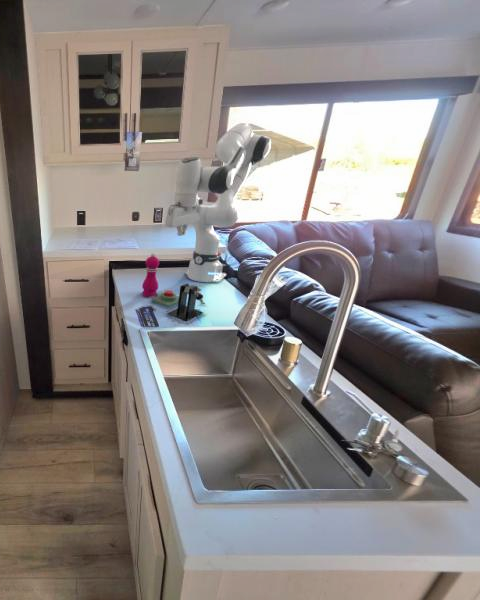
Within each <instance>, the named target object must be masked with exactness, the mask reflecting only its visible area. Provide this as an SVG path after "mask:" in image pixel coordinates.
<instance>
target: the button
mask: <svg viewBox="0 0 480 600" xmlns="http://www.w3.org/2000/svg"><path fill="white" fill-rule="evenodd" d="M164 292H165V294H164V295H165V296H168V297H172V296H173V293H174V291H173V290H169V289H168V290H164Z"/></svg>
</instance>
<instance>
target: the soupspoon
mask: <svg viewBox="0 0 480 600" xmlns="http://www.w3.org/2000/svg"><path fill="white" fill-rule="evenodd" d="M195 286H197V287H198V290H197V293H200V292H199V291H200V290H202V287H201V286H199V285H196V284H189V287H190V288H193V287H195ZM200 304H201V305H206V302H205V301H204V300H203V298H202V299H201V300H200Z"/></svg>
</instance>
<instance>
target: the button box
mask: <svg viewBox="0 0 480 600" xmlns="http://www.w3.org/2000/svg"><path fill="white" fill-rule="evenodd" d="M164 294H165V291H164V292H161V293H160V294H159V295H158V296H157V295H156V296H155V297H152V298H151V302H153V303H156V304H158V305H161V306H163V307H166V308H169V309H170V308H172V307H174V306H176V305H178V301H179V295H177V294H176V293H174V292H173V296H172V297H168V296H165V295H164Z"/></svg>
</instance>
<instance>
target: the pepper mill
mask: <svg viewBox="0 0 480 600" xmlns="http://www.w3.org/2000/svg"><path fill="white" fill-rule="evenodd" d="M159 265H160V260H159V258H158V257H156V253H151V254H150V256H149V257H147V258H146V259H145V266H146V267H145V268H146V269H145V270H146V276H145V279H144V280H143V282H142V287H141V288H142V289H143V290H142V296H143V297H145V298H151V297H154V296H157V291H158V289H159V283H158V280H157V272H158V267H159Z"/></svg>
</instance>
